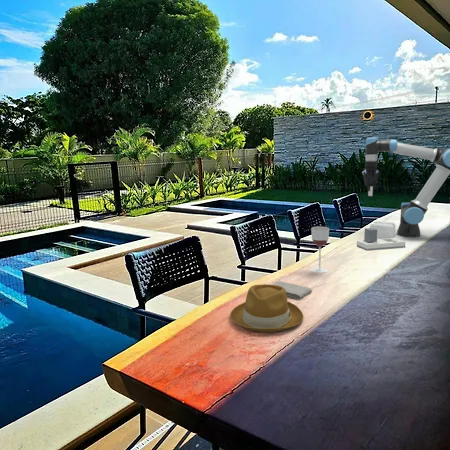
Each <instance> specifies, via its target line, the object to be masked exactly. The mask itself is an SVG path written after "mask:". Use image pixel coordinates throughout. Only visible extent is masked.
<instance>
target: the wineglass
mask: <svg viewBox="0 0 450 450" xmlns="http://www.w3.org/2000/svg"><path fill="white" fill-rule="evenodd" d="M310 231H311V240H312V243H313V244H314V245H315V246H316V247H318V267H314V268H311V271H312V273H313V272H314V273H320V274H321V273H328V271H329V270H328V269H327V268H323V267H321V262H322V261H321V260H322V258H321V256H322V255H321V254H322V253H321V252H322V250H321V249H322V247H323V246H325V245H326V244H327V243H328V240H329V235H330V228H329V227H327V226H312V227H311V229H310Z"/></svg>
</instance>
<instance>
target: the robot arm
mask: <svg viewBox="0 0 450 450" xmlns="http://www.w3.org/2000/svg"><path fill="white" fill-rule="evenodd" d="M379 152H381V153H382V152H386V153H387V152H388V153H392V154H396V155H397V154H398V155H402V156H407V157H411V158H412V157H413V158H416V159H417V158H418V159H422V160H429V161H430V162H431V163H434V164H435V167H436V168H435V169H434V170H433V172H432V173H431V175H430V176H429V178H428V180H427V181H426V183H425V184H424V186H423V187H422V188H421V190H420V191H419V192H418V195H417V196H416V198H414V199H413V200H410V202H401V204H400V219H399V221H400V222H399V226H398V228H397V231H396V235H398V236H401V237H410V238H411V237H413V238H415V237H420V236H421V229H420V226H419V224H420V223H421V222H422V221H423V220H424V219H425V218H424V217H425V214H427V212H428V210H429V209H428V206H429V204H430V203H431V201H432V200H433V199H434V197H435V195H436V194H437V192H438V191H439V189H440V188H441V187H442V186H443V184H444V183H445V181H446V180H447V178H448V176H450V148H439V147H435V148H430V147H424V146H420V145H414V144H410V143H409V144H408V143H403V142H399V141H398V140H397V139H383V140H382V139H381V140H380V139H379V137H376V136H375V137H367V138H366V140H365V163H364V164H365V165H364V167H365V168H364V170H363V171H361V175H362V177H363V182H364V186H366V187H367V189H366V190H367V195H368V197H373V193H374V187H375V186H377V183H378V181H379V180H378V179H379V175H380V173H381V170H378V153H379Z"/></svg>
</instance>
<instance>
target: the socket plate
mask: <svg viewBox="0 0 450 450" xmlns="http://www.w3.org/2000/svg"><path fill="white" fill-rule="evenodd" d="M356 247H358V248H360V249H363V250H364V251H375V250H378V251H379V250H389V249H403V247H404V248H406V241H404V240H402V239H401V240H400V239H399V238H395V237H394V238H386V239H377V242H373V243H367V242H364V240H363V239H362V240H361V239H359V240H356Z"/></svg>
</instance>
